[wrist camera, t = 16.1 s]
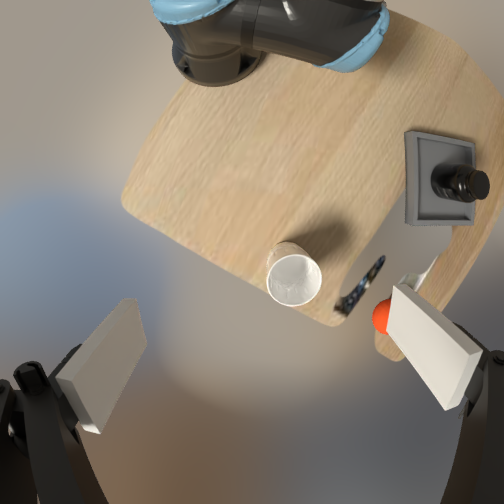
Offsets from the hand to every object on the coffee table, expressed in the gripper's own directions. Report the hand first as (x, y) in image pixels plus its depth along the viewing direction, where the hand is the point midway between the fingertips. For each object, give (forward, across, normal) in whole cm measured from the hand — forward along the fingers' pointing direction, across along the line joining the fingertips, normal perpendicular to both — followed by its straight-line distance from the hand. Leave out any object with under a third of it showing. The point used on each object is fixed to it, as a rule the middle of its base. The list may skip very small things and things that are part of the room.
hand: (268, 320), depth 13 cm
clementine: (+35, +25, -19) cm, 47 cm away
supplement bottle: (+34, +36, +6) cm, 50 cm away
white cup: (+35, +5, -8) cm, 36 cm away
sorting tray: (+35, +36, +6) cm, 51 cm away
